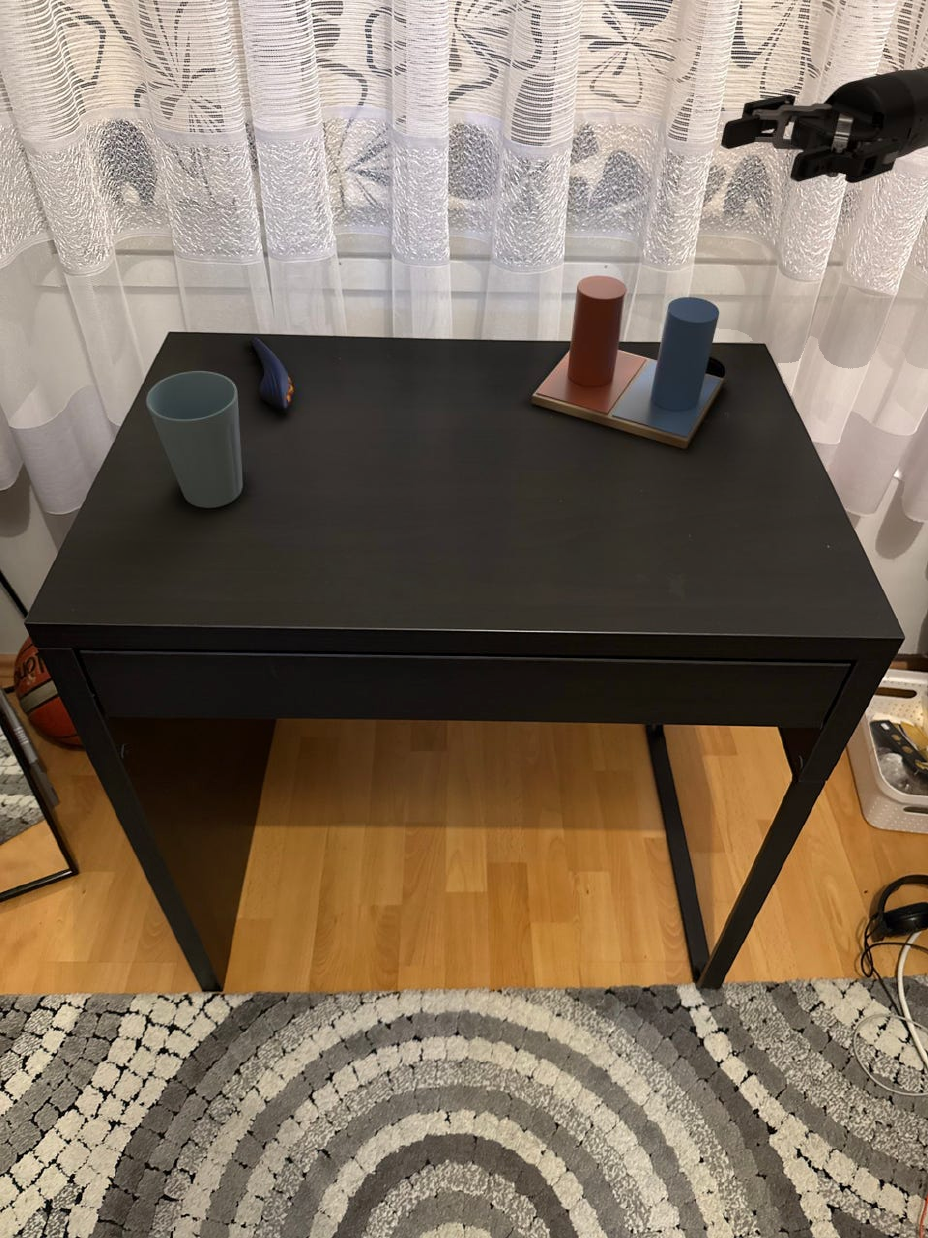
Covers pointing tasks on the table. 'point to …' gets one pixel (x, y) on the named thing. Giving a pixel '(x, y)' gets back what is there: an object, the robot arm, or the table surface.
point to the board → (627, 401)
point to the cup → (200, 434)
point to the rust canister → (596, 330)
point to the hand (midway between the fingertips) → (759, 151)
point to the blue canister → (684, 353)
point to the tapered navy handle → (273, 377)
